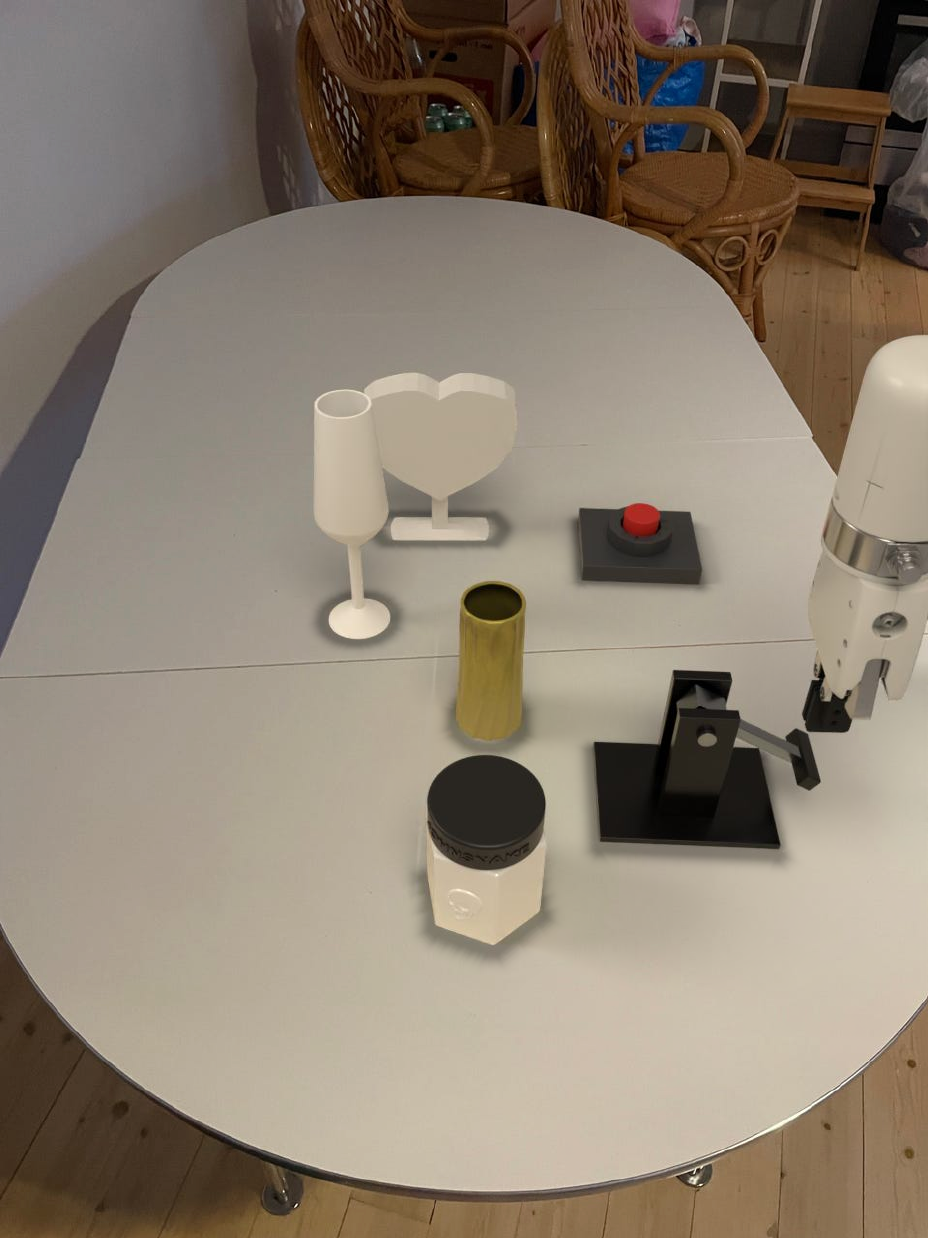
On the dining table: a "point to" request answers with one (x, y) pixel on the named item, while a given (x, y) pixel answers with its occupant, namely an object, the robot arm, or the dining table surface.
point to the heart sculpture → (442, 443)
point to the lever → (764, 738)
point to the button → (641, 519)
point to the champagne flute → (350, 498)
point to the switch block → (637, 549)
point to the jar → (485, 846)
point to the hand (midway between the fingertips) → (824, 724)
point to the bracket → (686, 779)
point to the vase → (491, 660)
